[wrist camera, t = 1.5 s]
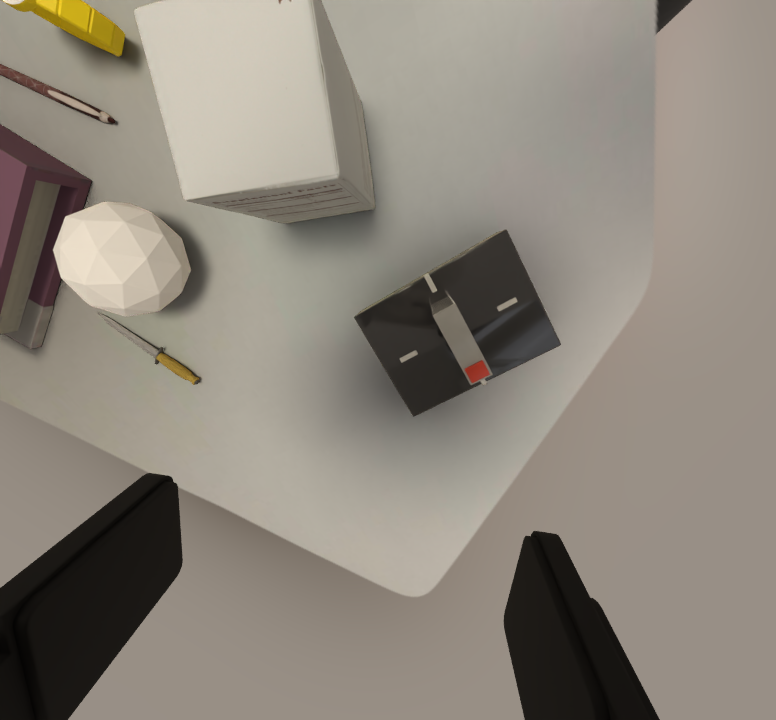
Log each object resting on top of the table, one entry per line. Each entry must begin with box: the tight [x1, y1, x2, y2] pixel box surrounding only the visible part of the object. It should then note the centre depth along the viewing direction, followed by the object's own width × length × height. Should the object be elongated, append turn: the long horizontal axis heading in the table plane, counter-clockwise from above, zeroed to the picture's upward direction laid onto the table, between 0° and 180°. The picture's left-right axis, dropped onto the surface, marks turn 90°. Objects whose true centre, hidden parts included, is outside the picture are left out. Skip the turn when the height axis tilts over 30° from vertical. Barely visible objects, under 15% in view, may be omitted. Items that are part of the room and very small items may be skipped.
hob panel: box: [354, 230, 561, 417], centre depth 27 cm, size 12×9×3 cm
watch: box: [2, 0, 125, 57], centre depth 23 cm, size 6×3×6 cm, turn 66°
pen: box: [0, 64, 115, 123], centre depth 26 cm, size 11×1×1 cm, turn 66°
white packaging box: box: [134, 0, 375, 224], centre depth 20 cm, size 7×7×13 cm
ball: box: [53, 202, 191, 317], centre depth 26 cm, size 8×8×8 cm
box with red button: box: [431, 296, 493, 385], centre depth 24 cm, size 5×2×5 cm, turn 30°
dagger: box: [97, 312, 199, 385], centre depth 31 cm, size 11×1×2 cm
